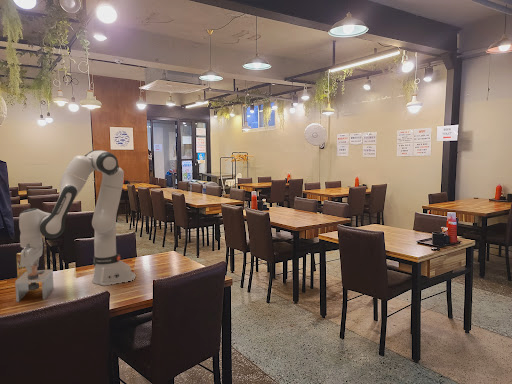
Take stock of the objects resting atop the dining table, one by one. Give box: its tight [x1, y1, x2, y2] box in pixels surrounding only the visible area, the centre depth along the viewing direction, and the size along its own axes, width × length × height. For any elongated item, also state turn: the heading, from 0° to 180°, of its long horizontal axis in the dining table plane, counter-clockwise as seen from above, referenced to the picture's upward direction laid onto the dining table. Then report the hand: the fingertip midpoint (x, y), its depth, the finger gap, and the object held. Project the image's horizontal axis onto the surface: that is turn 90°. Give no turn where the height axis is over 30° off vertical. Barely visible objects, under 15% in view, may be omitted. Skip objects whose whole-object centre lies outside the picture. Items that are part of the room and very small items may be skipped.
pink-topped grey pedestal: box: [28, 266, 40, 291], centre depth 172 cm, size 4×4×11 cm
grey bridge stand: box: [14, 269, 54, 303], centre depth 174 cm, size 12×15×10 cm
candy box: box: [16, 252, 34, 279], centre depth 193 cm, size 9×4×15 cm, turn 66°
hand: (32, 270), depth 171 cm, fingers open, 8 cm apart
